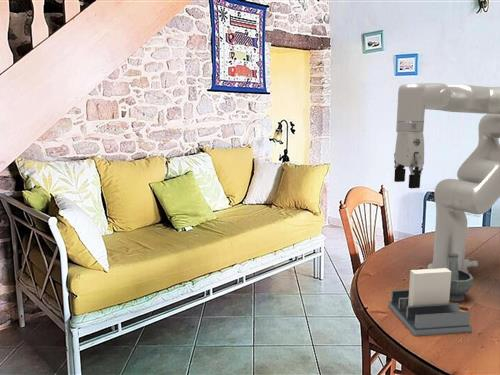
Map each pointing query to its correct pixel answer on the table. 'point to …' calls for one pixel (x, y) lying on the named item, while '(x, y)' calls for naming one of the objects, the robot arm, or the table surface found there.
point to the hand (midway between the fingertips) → (406, 184)
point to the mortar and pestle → (458, 279)
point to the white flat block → (429, 286)
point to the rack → (429, 316)
